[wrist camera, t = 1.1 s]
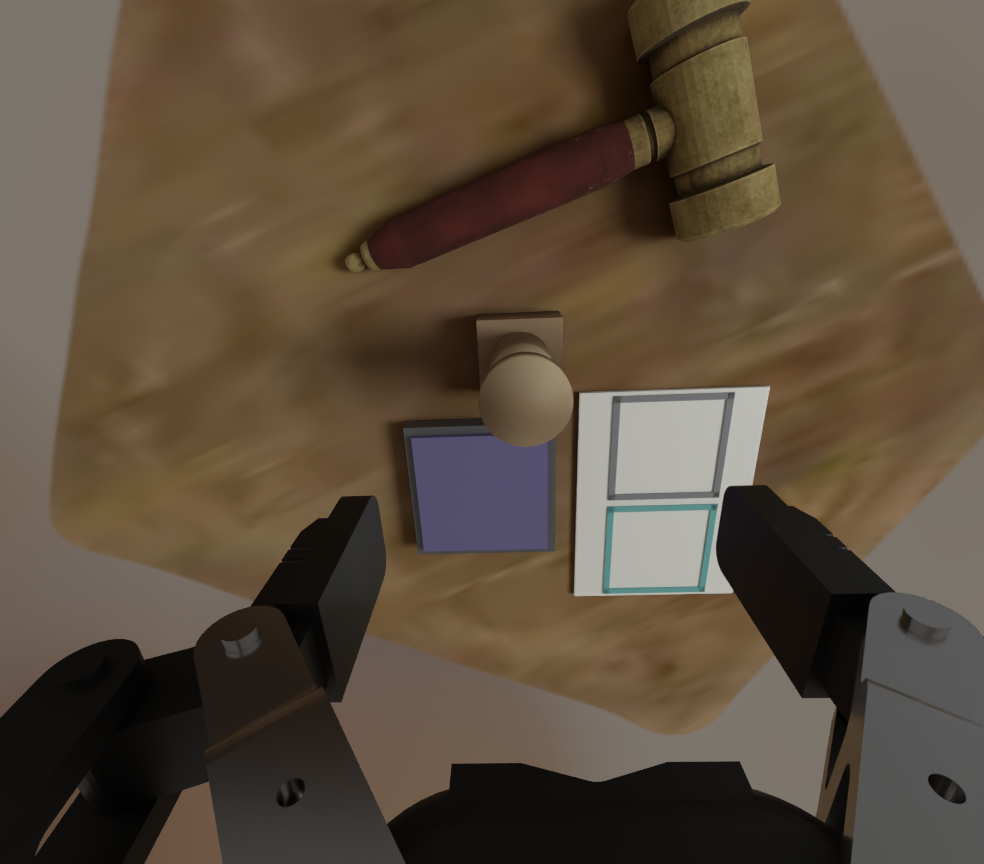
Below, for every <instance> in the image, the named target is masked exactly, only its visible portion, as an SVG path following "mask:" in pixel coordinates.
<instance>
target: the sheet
mask: <svg viewBox="0 0 984 864" xmlns="http://www.w3.org/2000/svg"><path fill="white" fill-rule="evenodd" d="M769 390H770V386H768V385H761V386H732V387H703V388H673V389H644V390H615V391H586V392H579V410H578V448H577V487H576V525H575V563H574V596H606V595H659V594H713V593H733V589H732V588H731V586H730V584H729V583H728V581H727V580H726V578H725V577H724V575H723V573H722V572H721V570H720V567H719V565H718V561H717V556H716V541H717V534H718V528H719V522H720V515H721V509H722V503H723V497H724V493H725V490H726V489H727V487H729V486H744V485H752V484H753V478H754V473H755V467H756V461H757V456H758V450H759V445H760V439H761V434H762V428H763V423H764V417H765V412H766V406H767V401H768V395H769Z"/></svg>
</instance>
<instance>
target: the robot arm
mask: <svg viewBox="0 0 984 864" xmlns="http://www.w3.org/2000/svg"><path fill="white" fill-rule="evenodd" d="M716 556H717V561H718V565H719V567H720V570H721V572H722V573H723V575H724V577H725V578H726V580H727V581H728V583H729V584H730V586H731V588H732V589H733V591H734V592H735V594H736V595H737V597H738V599H739V600H740V602H741V603H742V605H743V606H744V608H745V609H746V611H747V613H748V614H749V616H750V617H751V619H752V620H753V622H754V624H755V625H756V627H757V628H758V630H759V631H760V633H761V635H762V636H763V638H764V639H765V641H766V642H767V644H768V646H769V647H770V649H771V650H772V652H773V653H774V655H775V657H776V658H777V660H778V661H779V663H780V664H781V666H782V667H783V669H784V671H785V672H786V674H787V675H788V677H789V678H790V680H791V682H792V683H793V685H794V686H795V688H796V689H797V691H798V693H799V694H800V696H801V697H802V698H831V700H832V701H833V703H834V704H835V706H836V710H835V712H834V715H833V719H832V723H831V729H830V735H829V741H828V748H827V754H826V761H825V766H824V772H823V778H822V785H821V791H820V797H819V803H818V808H817V813H816V817H814V816H813V815H811V814H809V813H807V812H806V811H804V810H802V809H801V808H799V807H797V806H794V805H793V804H790V803H788V802H786V801H784V800H782V799H780V798H777V797H775V796H772V795H769V794H766V793H764V792H761V791H758V790H754V789H752V788H751V786H750V784H749V782H748V779H747V777H746V775H745V773H744V770H743V768H742V766H741V764H740V762H666V763H663V764H660V765H657V766H653V767H650V768H647V769H643V770H640V771H636V772H633V773H630V774H627V775H623V776H620V777H617V778H613V779H610V780H607V781H602V782H592V781H587V780H583V779H579V778H576V777H571V776H568V775H564V774H560V773H557V772H553V771H549V770H545V769H541V768H537V767H534V766H530V765H526V764H522V763H495V764H494V763H487V764H452V768H451V778H450V788H449V790H445V791H442V792H439V793H436V794H434V795H432V796H429V797H427V798H425V799H423V800H421V801H419V802H417V803H416V804H414V805H412V806H411V807H409V808H407V809H406V810H404V811H403V812H402V813H401V814H399V815H398V816H397V817H395V818H394V819H393V820H391V821H390V822H389V823H388V824H387V823H386V821H385V819H384V817H383V815H382V812H381V810H380V808H379V806H378V804H377V802H376V800H375V797H374V795H373V793H372V791H371V789H370V787H369V785H368V782H367V780H366V778H365V776H364V774H363V772H362V770H361V768H360V765H359V763H358V761H357V759H356V757H355V755H354V753H353V750H352V749H351V746H350V744H349V742H348V740H347V738H346V735H345V733H344V731H343V729H342V727H341V725H340V723H339V720H338V718H337V716H336V714H335V712H334V710H333V708H332V706H331V703H330V702H341V701H342V698H343V695H344V692H345V689H346V686H347V684H348V681H349V678H350V675H351V672H352V669H353V666H354V663H355V661H356V658H357V655H358V652H359V649H360V646H361V643H362V640H363V637H364V634H365V632H366V629H367V626H368V623H369V620H370V617H371V614H372V611H373V608H374V605H375V603H376V600H377V597H378V594H379V591H380V588H381V585H382V582H383V579H384V575H385V569H386V551H385V544H384V538H383V531H382V525H381V519H380V513H379V506H378V502H377V499H376V497H375V496H346V497H341V498H340V499H339V501H338V503H337V504H336V506H335V507H334V509H333V511H332V512H331V514H330V516H329V517H328V518H318V519H317V520H316V521H314V522H313V523H312V524H310V525H309V526H308V527H306V528H305V529H304V530H302V531H301V532H300V534H299V535H298V537H297V538H296V540H295V541H294V543H293V544H292V546H291V549H290V550H288V551H287V553H286V554H285V556H284V557H283V559H282V563H279V565H278V566H277V568H276V569H275V571H274V572H273V574H272V575H271V577H270V578H269V580H268V581H267V583H266V584H265V586H264V587H263V589H262V590H261V592H260V593H259V595H258V596H257V597H256V599H255V600H254V602H253V603H252V605H251V606H250V607H247V608H244V609H240V610H237V611H235V612H232V613H230V614H228V615H226V616H224V617H223V618H221V619H219V620H218V621H216V622H215V623H214V624H212V625H211V626H210V627H209V628H208V629H207V630H206V631H205V632H204V633H203V634H202V635H201V636H200V638H199V639H198V641H197V643H196V645H195V647H192V648H189V649H185V650H181V651H177V652H173V653H170V654H165V655H162V656H158V657H154V658H150V659H146V660H144V659H143V656H142V654H141V652H140V650H139V648H138V646H137V644H136V643H134V642H133V641H130V640H126V639H113V640H107V641H102V642H98V643H95V644H92V645H90V646H87V647H85V648H82V649H80V650H78V651H76V652H74V653H72V654H70V655H69V656H67V657H65V658H64V659H62V660H61V661H59V662H58V663H56V664H55V665H53V666H52V667H51V668H50V669H48V670H47V671H46V672H45V673H44V674H43V675H42V676H41V677H40V678H39V679H38V680H37V681H36V682H35V683H34V684H33V685H32V686H31V687H30V688H29V689H28V690H27V691H26V692H25V693H24V694H23V695H22V696H21V697H20V698H19V699H18V700H17V701H16V702H15V703H14V704H13V705H12V706H11V708H9V710H8V711H7V712H6V713H5V714H4V715H3V716H2V717H1V718H0V864H144V863H145V861H146V859H147V857H148V855H149V854H150V852H151V850H152V848H153V846H154V844H155V842H156V840H157V838H158V836H159V834H160V832H161V830H162V828H163V826H164V825H165V823H166V821H167V819H168V817H169V815H170V813H171V811H172V809H173V807H174V805H175V803H176V802H177V799H178V798H179V795H180V794H181V792H182V790H184V789H187V788H190V787H193V786H197V785H200V784H203V783H206V782H209V786H210V791H211V797H212V803H213V809H214V815H215V821H216V827H217V832H218V839H219V844H220V850H221V856H222V862H223V864H984V637H983V636H982V634H981V633H980V631H979V630H978V629H977V628H976V627H975V626H974V625H973V624H972V623H971V622H969V621H968V620H967V619H966V618H964V617H963V616H961V615H960V614H958V613H956V612H955V611H953V610H952V609H950V608H948V607H946V606H944V605H942V604H939V603H937V602H935V601H932V600H929V599H926V598H923V597H920V596H916V595H911V594H906V593H898V592H895V591H894V590H893V589H892V588H891V587H890V586H889V585H887V584H886V583H885V582H884V581H883V580H882V579H881V578H880V577H879V576H878V575H877V574H876V573H874V572H873V571H872V570H871V569H870V568H869V567H868V566H867V565H866V564H865V563H864V562H863V561H861V560H860V559H859V558H858V557H857V556H856V555H855V554H854V553H853V552H852V551H851V550H847V547H846V546H845V545H844V544H843V543H842V542H841V541H840V540H839V539H838V538H837V537H833V534H832V533H831V532H830V531H829V530H828V529H827V528H826V527H825V526H824V525H822V524H821V523H820V522H819V521H818V520H817V519H816V518H814V517H812V516H810V515H808V514H806V513H805V512H803V511H801V510H799V509H797V508H795V507H793V506H788V505H786V504H785V503H784V502H783V501H782V500H781V499H780V498H779V497H778V496H777V495H776V494H775V493H774V492H773V491H772V490H771V489H770V488H769V487H768V486H766V485H744V486H729V487H727V489H726V490H725V493H724V497H723V503H722V509H721V515H720V522H719V528H718V534H717V541H716ZM77 787H78V789H79V790H80V793H79V794H78V796H77V797H76V799H75V800H74V802H73V803H72V804H71V806H70V807H69V809H68V810H67V812H66V813H65V814H64V816H63V817H62V819H61V820H60V822H59V823H58V824H57V826H56V827H55V829H54V830H53V832H52V833H51V834H50V836H49V837H48V839H47V840H46V842H45V843H44V844H43V846H42V847H41V849H40V850H39V852H38V853H37V855H36V856H35V854H36V851H37V848H38V846H39V843H40V841H41V839H42V837H43V835H44V834H45V832H46V831H47V829H48V827H49V826H50V825H51V823H52V822H53V820H54V819H55V818H56V816H57V815H58V813H59V812H60V810H61V809H62V808H63V806H64V805H65V804H66V802H67V801H68V799H69V798H70V796H71V795H72V794H73V792H74V791H75V789H76V788H77Z"/></svg>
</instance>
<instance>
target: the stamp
mask: <svg viewBox="0 0 984 864" xmlns="http://www.w3.org/2000/svg"><path fill="white" fill-rule="evenodd" d="M476 324H477V342H478V361H479V379H480V397H479V409H480V414H481V417H482V420H483V422H484V424H485V425H486V427H487V428H488V430H489V431H490V432H491V433H492V434H493V435H494V436H495V437H497V438H498V439H500V440H501V441H503V442H505V443H508V444H510V445H514V446H520V447H531V446H537V445H540V444H543V443H546V442H548V441H550V440H551V439H553V438H554V437H556V436H557V435H558V434H559V433H560V432H561V431H562V430H563V429H564V428H565V426H566V425H567V423H568V421H569V419H570V417H571V414H572V410H573V393H572V389H571V386H570V383H569V381H568V379H567V377H566V375H565V373H564V371H563V370H562V359H563V317H562V315H561V314H560V312H559V311H548V312H523V313H499V314H478V317H477V320H476Z"/></svg>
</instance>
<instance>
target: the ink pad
mask: <svg viewBox="0 0 984 864" xmlns="http://www.w3.org/2000/svg"><path fill="white" fill-rule="evenodd" d="M403 433H404V441H405V449H406V458H407V466H408V474H409V482H410V491H411V499H412V507H413V515H414V524H415V532H416V540H417V549H418V554H456V553H501V552H546V551H555V437H554V438H553V439H551V440H550V441H548V442H546V443H543V444H540V445H537V446H531V447H520V446H514V445H510V444H508V443H505V442H503V441H501V440H500V439H498V438H497V437H495V436H494V435H493V434H492V433H491V432H490V431H489V430H488V428H487V427H486V425H485V424H484V422H483V420H482V419H451V420H420V421H406V423H405V425H404V427H403Z"/></svg>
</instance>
